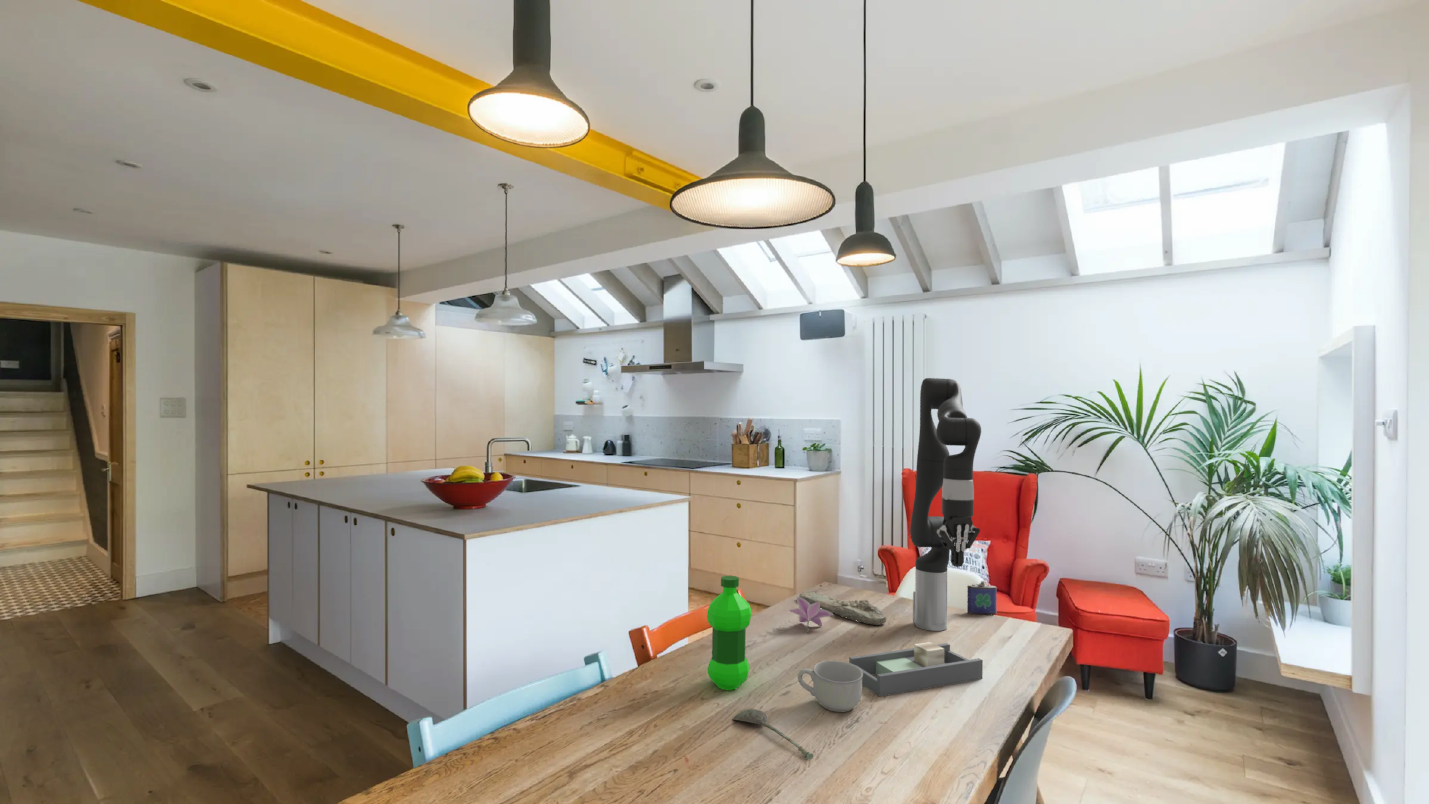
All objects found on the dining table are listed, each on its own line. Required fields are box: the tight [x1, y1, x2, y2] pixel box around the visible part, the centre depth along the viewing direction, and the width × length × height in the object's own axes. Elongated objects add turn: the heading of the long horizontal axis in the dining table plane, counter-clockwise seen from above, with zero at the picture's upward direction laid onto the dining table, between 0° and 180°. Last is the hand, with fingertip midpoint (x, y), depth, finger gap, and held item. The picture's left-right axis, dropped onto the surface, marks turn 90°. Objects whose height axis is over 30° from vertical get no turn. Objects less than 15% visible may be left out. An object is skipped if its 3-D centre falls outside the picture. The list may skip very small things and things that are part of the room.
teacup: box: [797, 659, 863, 713], centre depth 144 cm, size 14×11×8 cm
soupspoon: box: [732, 708, 814, 761], centre depth 130 cm, size 22×3×7 cm
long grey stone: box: [798, 591, 887, 626], centre depth 213 cm, size 35×5×10 cm
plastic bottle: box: [706, 575, 752, 691], centre depth 153 cm, size 10×10×25 cm
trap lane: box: [848, 643, 984, 697], centre depth 160 cm, size 12×30×4 cm, turn 112°
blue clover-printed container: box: [966, 580, 998, 616], centre depth 213 cm, size 9×3×11 cm, turn 88°
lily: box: [788, 596, 835, 633], centre depth 194 cm, size 12×12×10 cm
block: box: [913, 641, 944, 667], centre depth 161 cm, size 5×5×4 cm
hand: (957, 565), depth 165 cm, fingers closed
